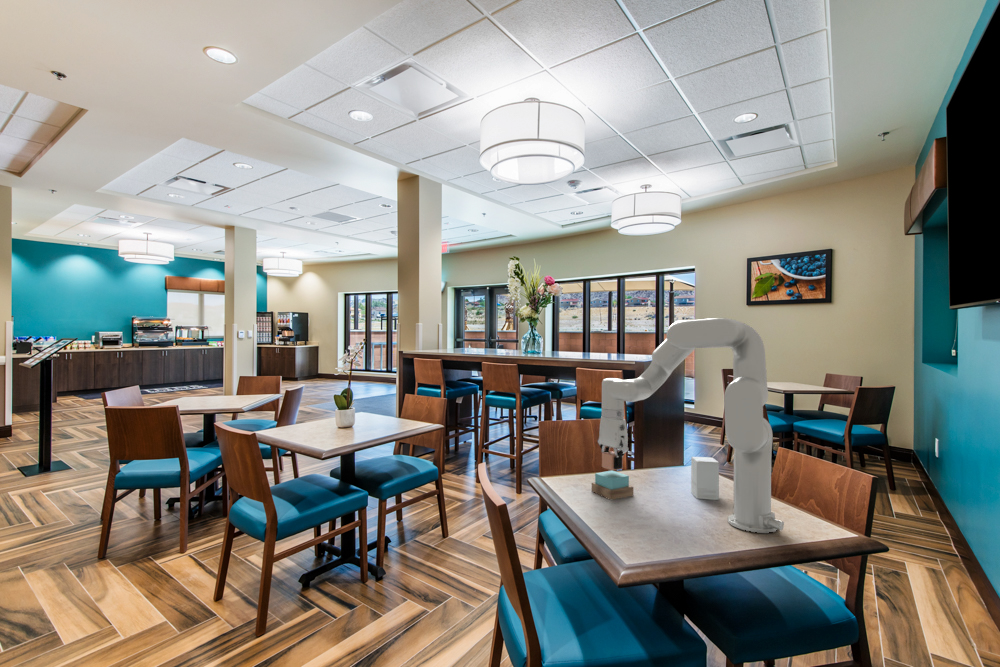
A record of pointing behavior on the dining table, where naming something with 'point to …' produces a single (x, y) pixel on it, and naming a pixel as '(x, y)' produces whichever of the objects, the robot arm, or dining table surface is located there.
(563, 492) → the dining table surface
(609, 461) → the salmon orange cube
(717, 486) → the supplement box
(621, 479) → the teal top slab
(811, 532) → the dining table surface
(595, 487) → the walnut base slab
